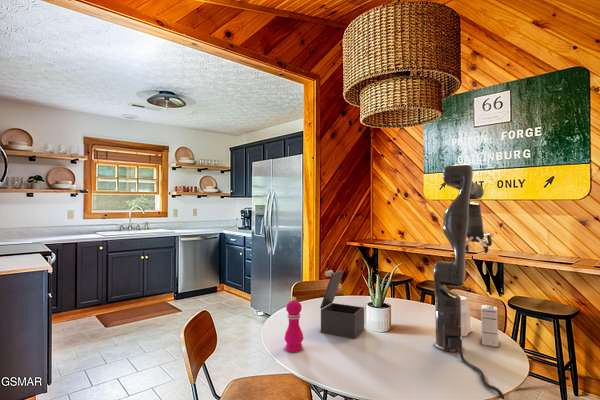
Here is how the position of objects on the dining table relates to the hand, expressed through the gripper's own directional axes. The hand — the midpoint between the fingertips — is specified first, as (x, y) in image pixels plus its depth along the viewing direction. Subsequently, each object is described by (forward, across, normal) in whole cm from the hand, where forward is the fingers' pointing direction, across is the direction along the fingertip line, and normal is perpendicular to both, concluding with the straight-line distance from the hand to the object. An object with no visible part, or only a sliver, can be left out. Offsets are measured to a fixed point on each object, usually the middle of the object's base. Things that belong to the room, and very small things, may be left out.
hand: (476, 252), depth 180 cm
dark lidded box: (+8, -42, -72) cm, 84 cm away
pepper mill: (-2, -46, -99) cm, 110 cm away
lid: (-10, -46, -67) cm, 82 cm away
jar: (+18, -2, -44) cm, 48 cm away
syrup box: (+15, +12, -50) cm, 54 cm away
